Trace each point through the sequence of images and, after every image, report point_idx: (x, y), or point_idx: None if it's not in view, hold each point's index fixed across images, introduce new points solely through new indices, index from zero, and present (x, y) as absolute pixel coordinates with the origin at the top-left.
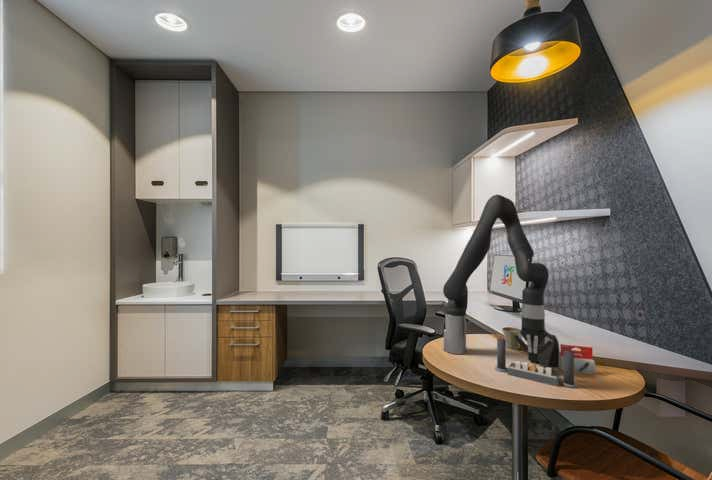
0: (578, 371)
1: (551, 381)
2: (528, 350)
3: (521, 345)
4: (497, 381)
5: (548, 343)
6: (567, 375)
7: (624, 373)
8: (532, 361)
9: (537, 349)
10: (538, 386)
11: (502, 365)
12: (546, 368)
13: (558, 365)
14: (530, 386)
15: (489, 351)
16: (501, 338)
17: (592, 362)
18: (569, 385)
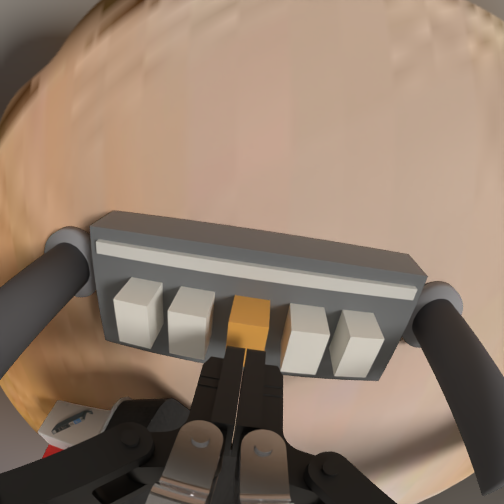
0: (91, 409)
1: (134, 221)
2: (282, 451)
3: (369, 492)
4: (468, 106)
5: (9, 495)
6: (38, 266)
7: (26, 412)
8: (246, 355)
9: (169, 467)
10: (218, 139)
11: (444, 314)
12: (144, 315)
13: (119, 405)
14: (272, 108)
15: (408, 459)
16: (495, 490)
17: (43, 430)
18: (62, 232)
